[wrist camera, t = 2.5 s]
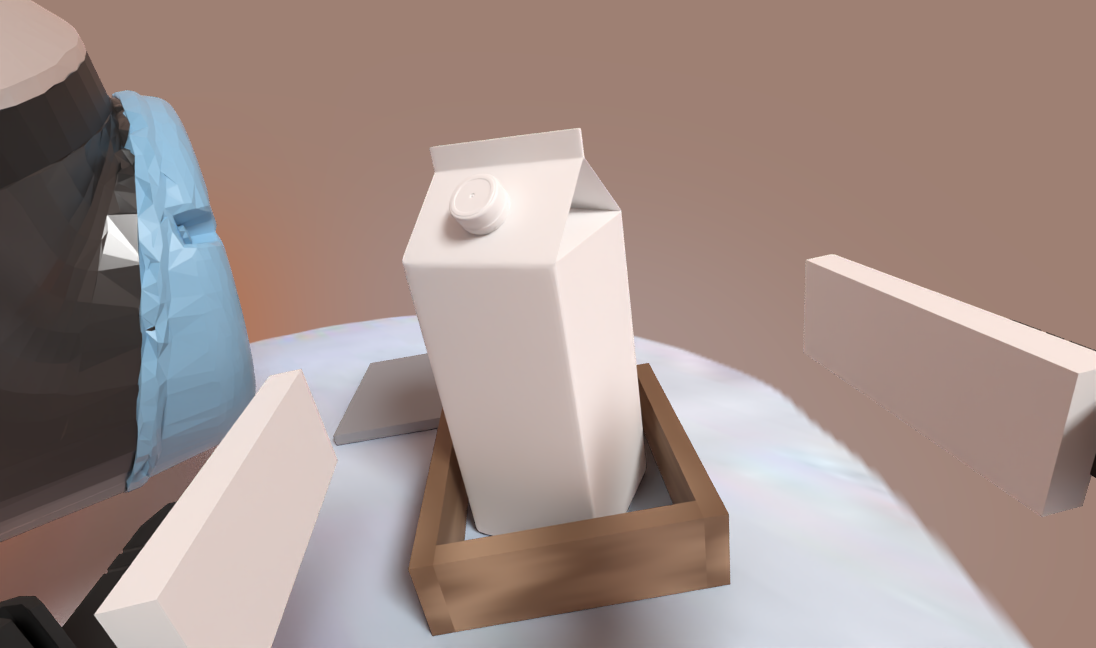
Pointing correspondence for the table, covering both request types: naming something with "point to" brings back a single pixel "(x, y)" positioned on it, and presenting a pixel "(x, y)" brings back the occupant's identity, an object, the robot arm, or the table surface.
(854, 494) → the table surface
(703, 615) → the table surface
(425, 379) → the slate pad
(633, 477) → the milk carton
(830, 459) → the table surface
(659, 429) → the walnut holder
